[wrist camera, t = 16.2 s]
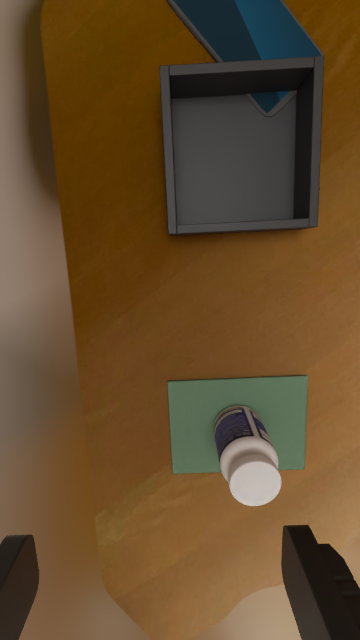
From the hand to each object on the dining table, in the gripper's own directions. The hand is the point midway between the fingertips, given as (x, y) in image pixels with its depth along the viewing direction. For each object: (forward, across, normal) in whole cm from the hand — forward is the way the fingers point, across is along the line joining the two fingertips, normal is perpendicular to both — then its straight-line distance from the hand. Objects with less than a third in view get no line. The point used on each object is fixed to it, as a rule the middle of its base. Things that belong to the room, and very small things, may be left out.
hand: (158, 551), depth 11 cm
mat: (+27, -8, +12) cm, 31 cm away
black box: (+28, -7, -17) cm, 33 cm away
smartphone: (+28, -8, -29) cm, 41 cm away
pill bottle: (+27, -7, +12) cm, 30 cm away
